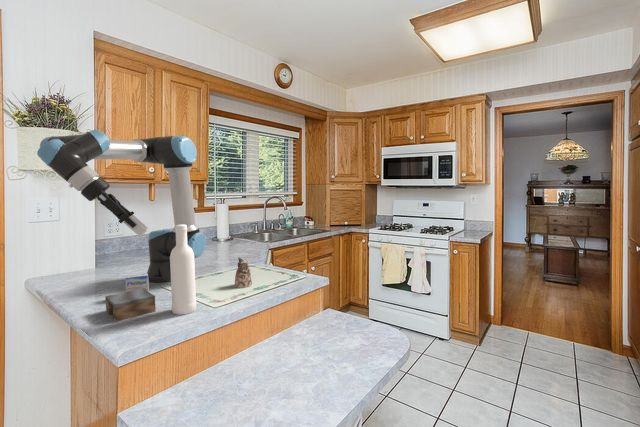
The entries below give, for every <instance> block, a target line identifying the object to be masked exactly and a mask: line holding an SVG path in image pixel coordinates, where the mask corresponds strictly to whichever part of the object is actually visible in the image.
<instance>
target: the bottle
mask: <svg viewBox="0 0 640 427" xmlns="http://www.w3.org/2000/svg"><path fill="white" fill-rule="evenodd" d="M174 227H175V231H176V246H175V247H174V248H173V249H172V251H171V254H170V270H171V281H170V288H171V290H170V291H171V309H172V311H171V312H172V314H174V315H179V316H181V315H189V314H192V313H194V312H195V311H196V310H197V295H196V291H197V290H196V271H195V270H196V268H195V258H194V252H193V250H192V248H191V247H189V246H188V245H187V225H176V226H175V225H174Z"/></svg>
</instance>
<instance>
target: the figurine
mask: <svg viewBox="0 0 640 427" xmlns="http://www.w3.org/2000/svg"><path fill="white" fill-rule="evenodd" d="M252 285H253V282H252V276H251V269H250V268H249V261H248V259H246V258H245V257H238V262H237V269H236V271H235V277H234V286H235V287H236V288H237V289H238V288H243V289H245V288H246V289H247V288H249V287H251V286H252Z"/></svg>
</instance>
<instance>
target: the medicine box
mask: <svg viewBox="0 0 640 427" xmlns="http://www.w3.org/2000/svg"><path fill="white" fill-rule="evenodd" d="M124 282H125V292H129V291H133V290H138V289H144V290H146V291H148V292H149V293H150V288H149V284H150V282H148V274H147V273H139V274H131V275H125V278H124Z"/></svg>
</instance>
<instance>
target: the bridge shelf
mask: <svg viewBox="0 0 640 427" xmlns="http://www.w3.org/2000/svg"><path fill="white" fill-rule="evenodd" d="M104 298H105V299H104V300H105V312H106V313H107V314H109V315H112V316H113V320H114V321H116V322H120V321H123V320H128V319H131V318H132V319H133V318H136V317H139V316H143V315H146V314H150V313H155V312H156V311H157V310H156V308H157V307H156V295H155V294H152V292H150V291H149V292H148V291H146V290H144V289H138V290H133V291H129V292H126V291H124V292H120V293H114V294H110V295H106V296H105V297H104Z"/></svg>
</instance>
